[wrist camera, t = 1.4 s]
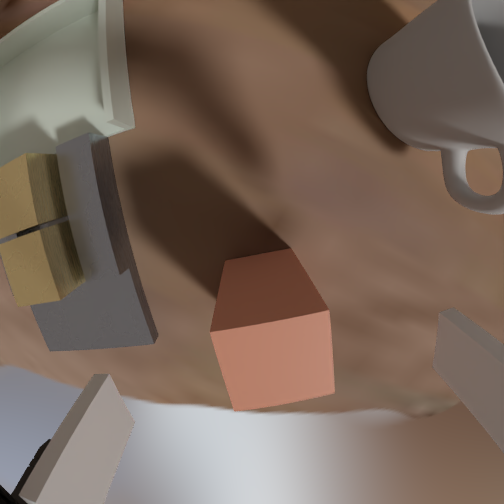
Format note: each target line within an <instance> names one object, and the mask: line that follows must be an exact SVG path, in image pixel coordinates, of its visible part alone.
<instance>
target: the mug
mask: <svg viewBox="0 0 504 504" xmlns="http://www.w3.org/2000/svg"><path fill="white" fill-rule="evenodd" d="M367 86H368V91H369V95H370V98H371V101H372V104H373V106H374V108H375V110H376V112H377V114H378V116H379V117H380V119H381V120H382V122H383V123H384V124H385V126H386V127H387V128H388V129H389V130H390V131H391V132H392V133H393V134H394V135H395V136H396V137H397V138H399V139H400V140H401V141H403V142H404V143H406V144H408V145H410V146H412V147H414V148H417V149H420V150H426V151H441V157H442V167H443V176H444V181H445V185H446V188H447V191H448V192H449V194H450V196H451V197H452V198H453V199H454V200H455V201H456V202H458V203H459V204H461V205H462V206H464V207H466V208H468V209H470V210H473V211H477V212H481V213H487V214H504V0H438V1H436V2H435V3H434V4H432V5H431V6H430V7H428V8H427V9H426V10H424V11H423V12H422V13H421V14H419V15H418V16H417V17H416V18H414V19H413V20H412V21H411V22H409V23H408V24H407V25H406V26H404V27H403V28H402V29H401V30H399V31H398V32H397V33H396V34H394V35H393V36H392V37H390V38H389V39H388V40H387V41H385V42H384V43H383V44H381V45H380V46H379V47H378V48H377V50H376V51H375V52H374V54H373V55H372V57H371V59H370V62H369V65H368V70H367ZM479 148H498V150H499V153H500V156H501V160H502V167H503V181H502V186H501V189H500V190H499V192H498V193H496V194H494V195H491V196H483V195H480V194H478V193H475V192H474V191H473V190H472V189H471V188H470V187H469V185H468V183H467V180H466V174H465V162H466V155H467V152H468V151H469V150H473V149H479Z"/></svg>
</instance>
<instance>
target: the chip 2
mask: <svg viewBox="0 0 504 504" xmlns="http://www.w3.org/2000/svg"><path fill="white" fill-rule="evenodd" d="M0 254H1V257H2V261H3V264H4V267H5V271H6V274H7V277H8V280H9V283H10V286H11V289H12V292H13V295H14V298H15V300H16V303H17V306H18V307H21V306H28V305H34V304H41V303H47V302H53V301H59V300H62V299H63V298H64V297H66V296H67V295H68V294H69V293H71V292H72V291H73V290H75V289H76V288H77V287H79V286H80V285H81V284H83V283H84V282H85V281H86V279H85V276H84V273H83V270H82V267H81V263H80V260H79V256H78V253H77V249H76V246H75V242H74V238H73V234H72V230H71V226H70V222H69V220H68V221H65V222H62V223H59V224H56V225H52V226H49V227H46V228H44V229H41V230H38V231H35V232H32V233H29V234H26V235H24V236H21V237H18V238H15V239H13V240H10V241H7V242H5V243H2V244H0Z"/></svg>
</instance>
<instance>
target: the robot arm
mask: <svg viewBox="0 0 504 504" xmlns="http://www.w3.org/2000/svg"><path fill="white" fill-rule="evenodd" d="M433 368H434V370H435V371H436V372H437V373H438V374H439V375H440V376H441V378H442V379H443V380H444V381H445V382H446V383H447V384H448V386H449V387H450V388H451V389H452V390H453V391H454V393H455V394H456V395H457V396H458V397H459V398H460V400H461V401H462V402H463V403H464V404H465V406H466V407H467V408H468V409H469V410H470V412H471V413H472V414H473V415H474V416H475V418H476V419H477V420H478V421H479V422H480V424H481V425H482V426H483V427H484V429H485V430H486V431H487V432H488V433H489V435H490V436H491V437H492V439H493V440H494V441H495V442H496V444H497V445H498V446H499V448H500V449H501V450H502V452H503V453H504V344H502V343H501V342H500V341H499V340H497V339H496V338H495V337H493V336H492V335H491V334H489V333H488V332H487V331H485V330H484V329H483V328H481V327H480V326H479V325H477V324H476V323H474V322H473V321H472V320H470V319H469V318H468V317H466V316H465V315H463V314H462V313H461V312H459V311H458V310H456V309H455V308H454V307H453V308H450V309H447V310H445V311H442V312H439V320H438V330H437V339H436V347H435V354H434V361H433ZM134 423H135V421H134V420H133V418H132V416H131V414H130V412H129V411H128V409H127V407H126V405H125V403H124V401H123V400H122V398H121V396H120V394H119V392H118V390H117V388H116V386H115V384H114V382H113V380H112V378H111V376H110V374H94V375H93V377H92V378H91V380H90V381H89V383H88V384H87V386H86V387H85V389H84V390H83V392H82V393H81V394H80V396H79V397H78V399H77V400H76V402H75V403H74V405H73V406H72V408H71V410H70V411H69V413H68V414H67V416H66V417H65V419H64V420H63V422H62V423H61V425H60V427H59V428H58V430H57V431H56V433H55V434H54V436H53V438H52V439H49V440H48V441H46V442H45V443H44V444H43V445H42V446H41V447H40V448H39V449H38V451H37V453H36V454H35V456H34V459H32V461H31V462H30V464H29V465H30V466H29V467H27V469H26V470H25V472H24V474H23V476H22V477H21V479H20V481H19V482H18V484H17V486H16V488H15V489H14V491H13V492H12V494H11V495H10V494H9V493H8V492H7V491H6V490H5V489H4V488H3V487H2V486H1V485H0V504H104V502H105V500H106V496H107V494H108V491H109V488H110V486H111V483H112V480H113V478H114V475H115V472H116V470H117V467H118V464H119V462H120V459H121V456H122V454H123V451H124V449H125V446H126V443H127V441H128V438H129V436H130V433H131V431H132V428H133V426H134Z"/></svg>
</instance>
